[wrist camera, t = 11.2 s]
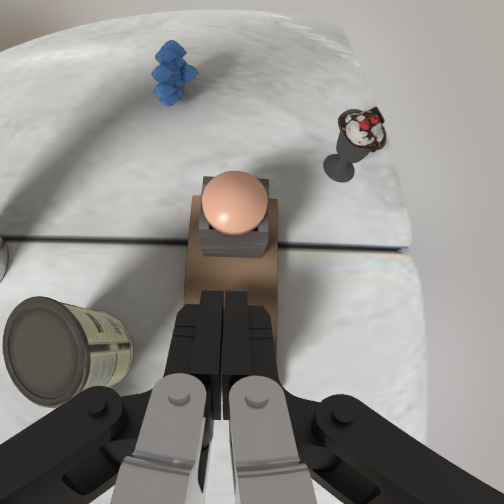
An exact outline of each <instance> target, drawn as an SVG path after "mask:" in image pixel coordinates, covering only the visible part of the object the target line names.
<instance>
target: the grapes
mask: <svg viewBox="0 0 504 504" xmlns="http://www.w3.org/2000/svg"><path fill="white" fill-rule="evenodd" d="M186 53H187V52H186V51H185V50H184V48H183V47H181V46H180V45H179V43H177V42H176V41H174V40H170V41H168V42H166V43H165V44H164V45H163V47H162V48H161V50H160V51H159V52H158V53H157V54H156V55H155V58H156V60H157V61H158V62H159V63H160V64H161V65H159V66H157V67H156V68H155V69H154V70H153V72H152V73H151V74H152V76H153V77H154V79H155V80H156V81H158V82H160V83H159V84H158V85H157V86H156V87H155V88H154V90H153V91H154V93H155V94H156V96H157V97H158V98H159V100H160V101H161V102H162V103H163V104H164V105H165V106H171V105H173V104H174V103H175V102H176V101H177V100H178V99H179V98H180V97H181V96H182V95H183V94H184V93H183V91H182V90H181V89H180V87H182V86H183V85H184V84H185V83H186V82H189V81H191V80H193V79H194V78H195V77H196V76H197V75H198V74H199V73H198V72H197V70H196V69H195V68H194V67H193V66H191V65H188V64H187V62H186V61H185V60H184V59H182V57H183V56H184V55H185V54H186Z"/></svg>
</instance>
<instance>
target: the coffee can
mask: <svg viewBox="0 0 504 504" xmlns="http://www.w3.org/2000/svg"><path fill="white" fill-rule="evenodd" d="M3 355H4V360H5V364H6V368H7V370H8V373H9V375H10V377H11V379H12V381H13V383H14V384H15V386H16V387H17V389H18V390H19V391H20V392H21V393H22V394H23V395H24V396H25V397H26V398H27V399H29V400H30V401H32V402H33V403H35V404H37V405H40V406H43V407H48V408H57V407H59V406H61V405H62V404H64V403H65V402H67V401H68V400H70V399H71V398H73V397H74V396H76V395H77V394H79V393H80V392H82V391H83V390H85V389H87V388H89V387H93V386H105V387H110V386H114V385H116V384H117V383H119V382H120V381H121V380H123V379H124V378H125V376H126V375H127V373H128V372H129V370H130V367H131V365H132V360H133V345H132V341H131V338H130V335H129V333H128V331H127V330H126V328H125V327H124V325H123V324H122V323H121V322H120V321H119V320H118V319H117V318H115V317H114V316H112V315H110V314H109V313H106V312H102V311H95V310H90V309H86V308H82V307H77V306H74V305H69V304H65V303H61V302H58V301H56V300H54V299H51V298H48V297H41V296H37V297H31V298H29V299H26V300H24V301H23V302H21V303H20V304H19V305H18V306H17V307H16V308H15V309H14V310H13V311H12V313H11V314H10V316H9V318H8V320H7V323H6V326H5V329H4V335H3Z"/></svg>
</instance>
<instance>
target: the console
mask: <svg viewBox="0 0 504 504" xmlns="http://www.w3.org/2000/svg"><path fill="white" fill-rule="evenodd" d="M213 178H214V177H207V176H204V177H203V186H202V195H203V192H204V189H205V187H206V186H207V184H208V183H209V182H210V181H211V180H212V179H213ZM258 180H259V181H260V182H261V183H262V185H263V186H264V188H265V190H266V193H267V197H268V205H267V209H266V213H265V216H264V218H263V220H262V222H261V223H260V224H259V226H258V227H257V228H255V229H254V231H251V232H249V233H246V234H243V235H227V234H223V233H221V232H219V231H217V230H215V229H213V227H212V226H211V225H210V224H209V223H208V221H207V220H206V218H205V215H204V211H203V206H202V196H195V195H193V196H192V206H191V216H190V226H189V237H188V249H187V262H186V275H185V291H184V305H185V304H199V303H200V297H201V291H202V289H215V290H224V307H225V290H247V297H248V305H257V306H264V308H265V309H266V311H267V312H268V313H269V315H270V316H271V324H272V332H273V340H274V348H275V355H276V346H277V276H278V201H277V199H269V179H258Z"/></svg>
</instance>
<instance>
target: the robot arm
mask: <svg viewBox="0 0 504 504" xmlns="http://www.w3.org/2000/svg"><path fill="white" fill-rule="evenodd" d="M7 262H8V250H7V246H6V243H5V241H4V240H3V238H2V237H0V281H1V280H2V278H3V276H4V274H5V271H6V268H7ZM221 402H222V403H223V420H229V435H230V436H229V438H230V453H231V464H232V474H233V484H234V494H235V504H317V501H316V497H315V493H314V488H313V484H312V480H311V478H312V479H313V480H314V481H316V482H317V483H318V484H319V485H321V486H322V487H323V488H324V489H326V490H327V491H328V492H329V493H331V494H332V495H333V496H334V497H336V498H337V499H338V500H340V501H341V502H342V503H344V504H504V494H503V493H501V492H499V491H498V490H496V489H494V488H492V487H491V486H489V485H487V484H485V483H484V482H482V481H481V480H479V479H477V478H476V477H474V476H472V475H470V474H469V473H467V472H466V471H464V470H462V469H461V468H459V467H458V466H456V465H454V464H453V463H451V462H450V461H448V460H446V459H445V458H443V457H442V456H440V455H439V454H437V453H436V452H434V451H432V450H431V449H429V448H428V447H426V446H425V445H423V444H422V443H420V442H419V441H417V440H416V439H414V438H413V437H411V436H410V435H408V434H407V433H405V432H404V431H402V430H401V429H399V428H398V427H397V426H395V425H394V424H392V423H391V422H389V421H388V420H386V419H385V418H383V417H382V416H381V415H379V414H378V413H376V412H375V411H374V410H372V409H371V408H369V407H368V406H366V405H365V404H364V403H362V402H361V401H360V400H358V399H356V398H354V397H352V396H349V395H344V394H337V395H332V396H329V397H327V398H325V399H324V400H322V402H321V403H320V402H315V401H310V400H306V399H302V398H298V397H296V396H294V395H292V394H290V393H289V392H288V391H286V390H285V389H284V388H283V386H282V385H281V383H280V381H279V378H278V372H277V363H276V355H275V348H274V340H273V332H272V324H271V316H270V315H269V313H268V312H267V311H266V309H265V308H264V306H257V305H248V297H247V290H225V307H224V290H215V289H202V291H201V297H200V303H199V304H185V305H184V306H183V308H182V309H181V310H180V311H179V312H178V313H177V317H176V321H175V328H174V330H173V337H172V339H171V344H170V349H169V353H168V358H167V363H166V368H165V373H164V376H163V378H162V379H160V380H159V381H158V382H157V383H156V384H155V386H154V388H153V389H151V390H149V391H147V392H145V393H141V394H136V395H130V396H123V397H120V396H119V395H118V393H117V392H116V391H114V390H113V389H111V388H109V387H105V386H93V387H89V388H87V389H85V390H83V391H82V392H80V393H79V394H77V395H76V396H74V397H73V398H71V399H70V400H68V401H67V402H65V403H64V404H62V405H61V406H59V407H58V408H56V409H55V410H53V411H52V412H50V413H49V414H47V415H45V416H44V417H42V418H41V419H39V420H38V421H36V422H35V423H33V424H32V425H30V426H29V427H27V428H26V429H24V430H22V431H21V432H19V433H18V434H16V435H15V436H13V437H12V438H10V439H8V440H7V441H5V442H4V443H2V444H1V445H0V504H89V503H91V502H92V501H93V500H95V499H96V498H97V497H99V496H100V495H102V494H103V493H104V492H106V491H107V490H108V489H110V488H111V487H112V486H114V485H115V487H114V491H113V495H112V499H111V503H110V504H205V492H206V483H207V476H208V468H209V460H210V452H211V445H212V438H213V425H214V420H221Z"/></svg>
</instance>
